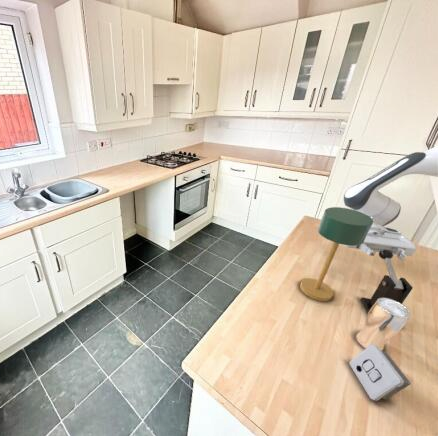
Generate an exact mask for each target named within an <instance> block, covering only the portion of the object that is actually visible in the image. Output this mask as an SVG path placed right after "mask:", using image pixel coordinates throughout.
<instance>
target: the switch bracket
mask: <svg viewBox="0 0 438 436" xmlns="http://www.w3.org/2000/svg"><path fill="white" fill-rule="evenodd" d="M398 280H401V282H402V285H403V288H404V289H403V290H401V291H399V292H397V291H393V289H394V288H395V286H396V284H395V283H394V282H393V281H392V279H391V278H390V276H389V274H384V276H383V277H382V279H381V281H380V283H379V284H378V285H377V287H376V289H375V290H374V293H373V294H372V296H371V298H367V297H361V298H360V302H361V304H362V306H363V307H364V309H365V310H366V312H367V313H368V312H369V311H370V309H371V307H372V306H373V305H374V303H375V302H376V301H377V299H379V298H389V299H392V300H395V301H397V302H399V303H401V304H402V305H403V303H404V302H405V301H406V299H407V297H408V296H409V294H410V293H411V292H412V290H413V289H414V287H413V286H412V285H411V283H410V282H409V281H408V280H407V279H406V278H404V277H400V278H399V279H398Z"/></svg>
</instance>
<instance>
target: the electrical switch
mask: <svg viewBox="0 0 438 436" xmlns="http://www.w3.org/2000/svg"><path fill="white" fill-rule="evenodd" d="M349 366H350V368H351V369H352V371H353V372H354V375H355V376H356V377H357V379H358V381H359V382H360V384H361V385H362V388H363V389H364V391H365V392H366V394H367V396H368V397H369V398H370V399H371V400H373V401H376V402H377V401H379V400H381V399H382V400H388V399H389V398H391V397H392V396H395V395H396V394H398V393H399V392H401V391H402V390H404V389H405V388H408V387H409V386H411V385H412V383H411V382H410V380H409V379H408V377H407V376H406V375H405V374H404V372H403V371H402V370H401V369H400V367H399V366H398V365H397V363H396V362H395V361H394V360H393V358H392V357H391V356H390V354H389V353H388V352H387V351H386V350H385V351H384V350H382V351H381V350H380V349H379V348H378V346H376V345H370V346H369V347H367V348H364V350H362V351H361V352H360V353H358V354H357V355H356V356H355V357H354V358H352V359H351V360H349Z"/></svg>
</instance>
